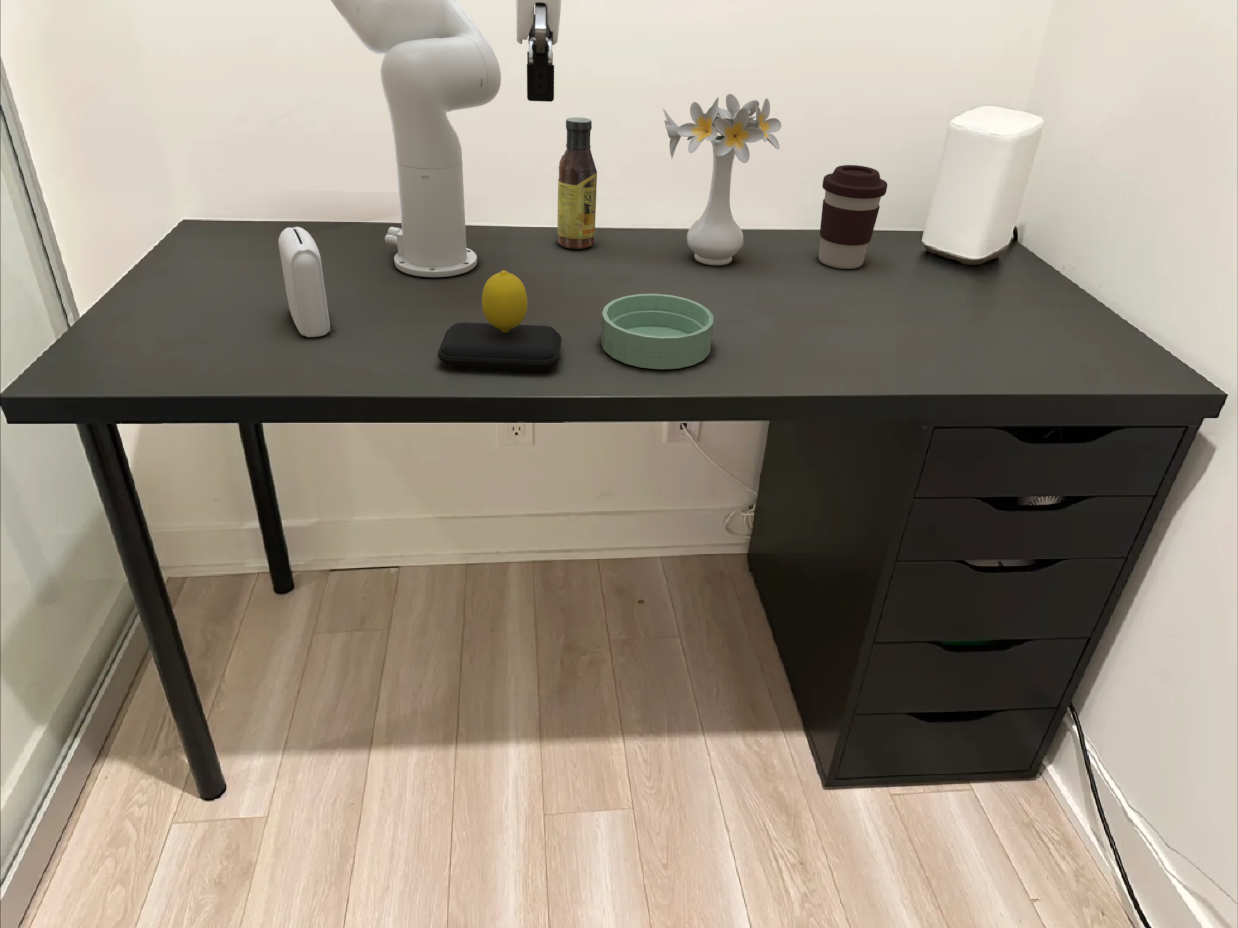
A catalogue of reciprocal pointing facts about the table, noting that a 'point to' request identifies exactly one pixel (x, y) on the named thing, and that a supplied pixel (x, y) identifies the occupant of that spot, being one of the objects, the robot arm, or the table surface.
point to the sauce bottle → (577, 188)
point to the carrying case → (500, 347)
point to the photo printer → (304, 282)
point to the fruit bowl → (656, 331)
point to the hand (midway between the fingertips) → (540, 92)
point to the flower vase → (722, 169)
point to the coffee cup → (849, 214)
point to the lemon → (504, 301)
